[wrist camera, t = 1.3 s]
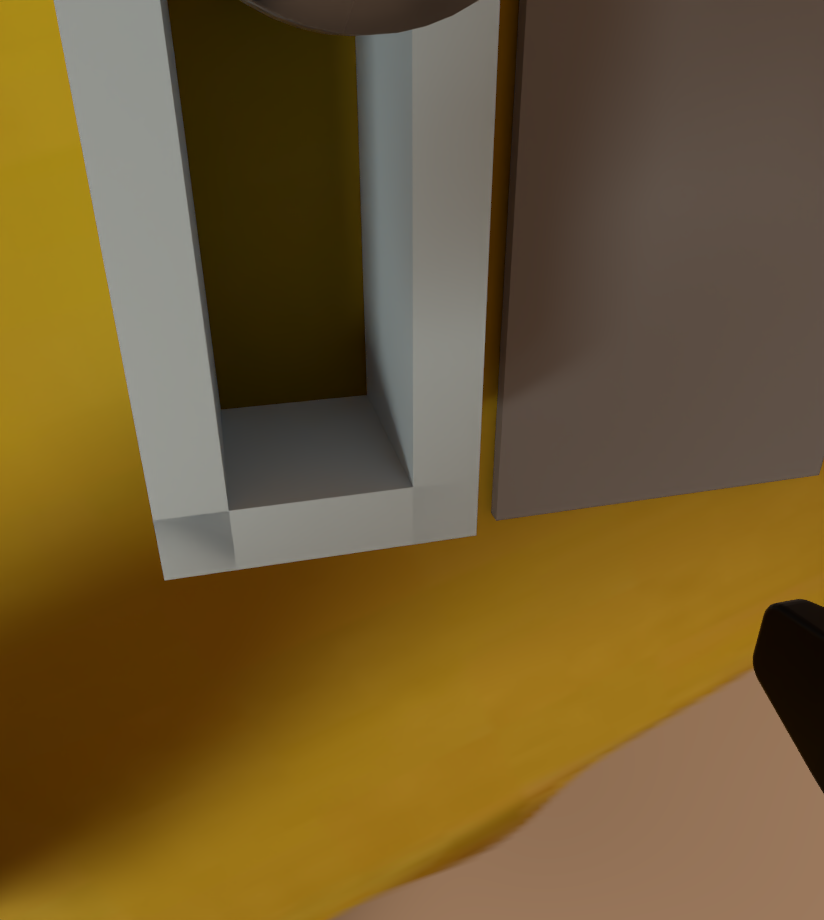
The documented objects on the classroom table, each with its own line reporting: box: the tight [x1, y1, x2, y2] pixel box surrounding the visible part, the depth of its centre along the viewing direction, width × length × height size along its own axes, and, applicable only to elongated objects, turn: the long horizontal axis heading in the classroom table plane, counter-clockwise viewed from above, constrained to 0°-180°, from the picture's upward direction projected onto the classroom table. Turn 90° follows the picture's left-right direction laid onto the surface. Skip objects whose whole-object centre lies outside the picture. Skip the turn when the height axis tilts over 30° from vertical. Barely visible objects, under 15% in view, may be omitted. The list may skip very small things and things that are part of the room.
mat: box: [491, 0, 824, 521], centre depth 18 cm, size 16×10×1 cm, turn 0°
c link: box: [54, 0, 500, 580], centre depth 14 cm, size 13×6×4 cm, turn 0°
